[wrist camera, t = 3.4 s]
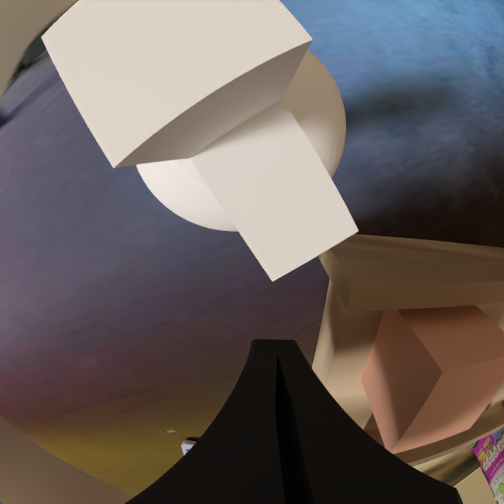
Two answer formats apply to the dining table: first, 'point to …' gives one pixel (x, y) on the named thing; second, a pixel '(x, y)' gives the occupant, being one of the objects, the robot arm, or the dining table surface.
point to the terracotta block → (432, 373)
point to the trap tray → (401, 297)
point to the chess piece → (214, 115)
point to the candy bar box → (492, 461)
